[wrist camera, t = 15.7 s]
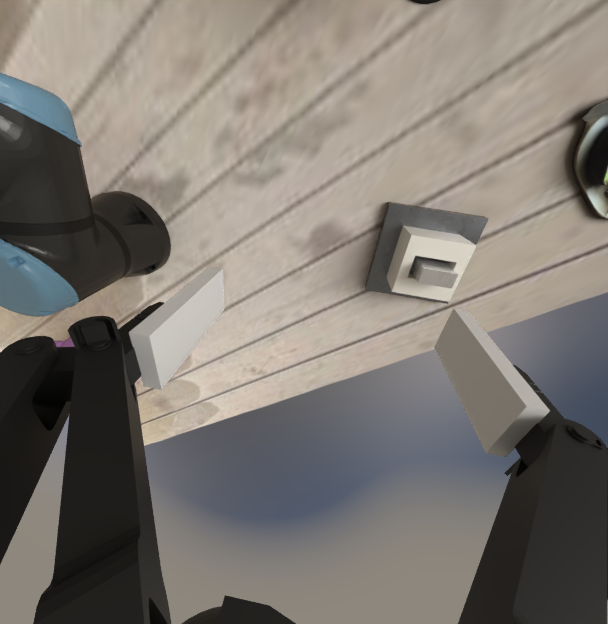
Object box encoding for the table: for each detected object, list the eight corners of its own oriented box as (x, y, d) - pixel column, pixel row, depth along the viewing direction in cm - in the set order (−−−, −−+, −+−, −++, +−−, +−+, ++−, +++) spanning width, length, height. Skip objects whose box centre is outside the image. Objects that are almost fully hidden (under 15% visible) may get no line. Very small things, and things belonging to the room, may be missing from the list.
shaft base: (365, 286, 49) (370, 314, 40) (388, 201, 41) (401, 213, 32) (444, 299, 48) (468, 331, 39) (484, 216, 41) (523, 233, 32)
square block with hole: (403, 225, 41) (411, 235, 36) (459, 234, 41) (476, 245, 36) (386, 277, 46) (391, 291, 41) (437, 285, 46) (449, 301, 41)
